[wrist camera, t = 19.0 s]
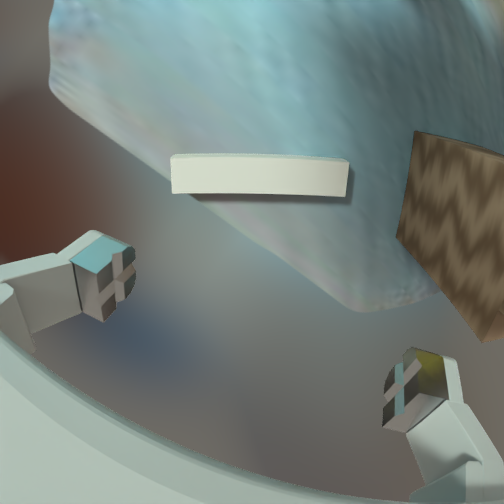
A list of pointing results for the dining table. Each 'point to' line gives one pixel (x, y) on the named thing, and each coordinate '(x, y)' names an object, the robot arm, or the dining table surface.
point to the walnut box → (458, 226)
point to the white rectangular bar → (259, 174)
